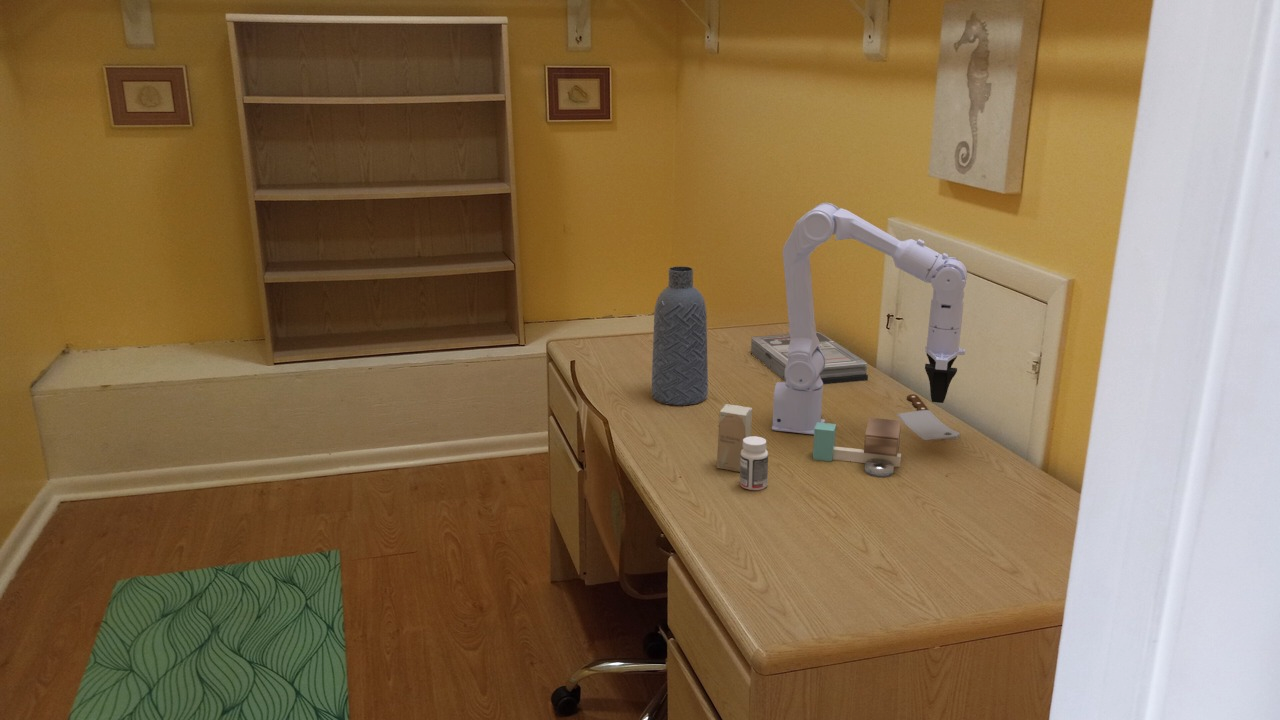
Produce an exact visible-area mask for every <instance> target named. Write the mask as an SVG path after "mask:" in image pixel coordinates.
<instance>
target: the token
mask: <svg viewBox="0 0 1280 720" xmlns="http://www.w3.org/2000/svg"><path fill="white" fill-rule="evenodd" d="M894 470H895V467H894V464H893V463H892V462H890V461H887V460H883V459H870V460H867V461H866V462H865V463H864V472H865V474H867V475H869V476H871V477H877V478H887V477H891V476H892V475H894Z"/></svg>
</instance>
